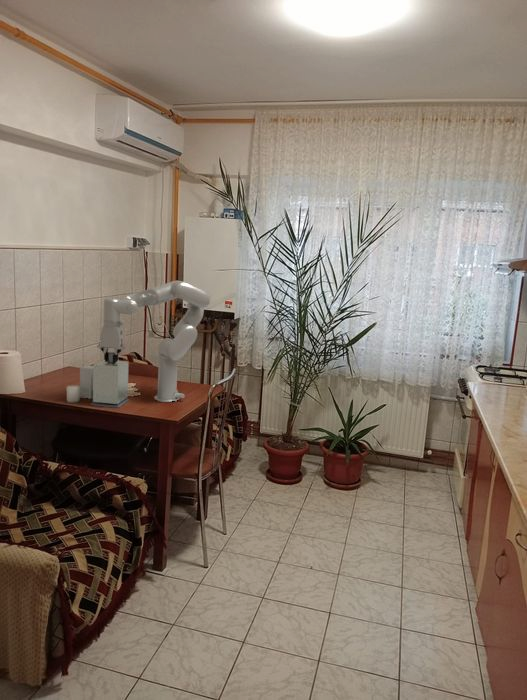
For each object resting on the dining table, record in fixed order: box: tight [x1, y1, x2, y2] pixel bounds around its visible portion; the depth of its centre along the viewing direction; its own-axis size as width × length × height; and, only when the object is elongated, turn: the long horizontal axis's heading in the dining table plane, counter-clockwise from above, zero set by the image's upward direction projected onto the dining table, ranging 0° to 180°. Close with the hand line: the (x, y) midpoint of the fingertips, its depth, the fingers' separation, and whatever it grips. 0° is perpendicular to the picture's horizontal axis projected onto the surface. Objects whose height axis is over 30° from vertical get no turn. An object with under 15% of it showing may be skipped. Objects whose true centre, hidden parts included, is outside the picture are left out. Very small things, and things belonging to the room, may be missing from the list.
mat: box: [90, 398, 130, 409], centre depth 262 cm, size 14×14×1 cm
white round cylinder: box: [66, 384, 81, 403], centre depth 262 cm, size 6×6×7 cm
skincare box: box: [79, 364, 93, 400], centre depth 270 cm, size 8×7×16 cm
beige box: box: [92, 351, 130, 404], centre depth 261 cm, size 12×13×23 cm
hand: (111, 361), depth 259 cm, fingers closed on beige box, 3 cm apart
